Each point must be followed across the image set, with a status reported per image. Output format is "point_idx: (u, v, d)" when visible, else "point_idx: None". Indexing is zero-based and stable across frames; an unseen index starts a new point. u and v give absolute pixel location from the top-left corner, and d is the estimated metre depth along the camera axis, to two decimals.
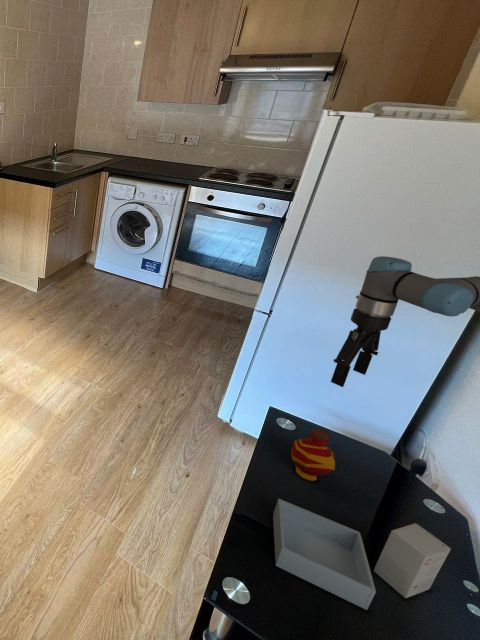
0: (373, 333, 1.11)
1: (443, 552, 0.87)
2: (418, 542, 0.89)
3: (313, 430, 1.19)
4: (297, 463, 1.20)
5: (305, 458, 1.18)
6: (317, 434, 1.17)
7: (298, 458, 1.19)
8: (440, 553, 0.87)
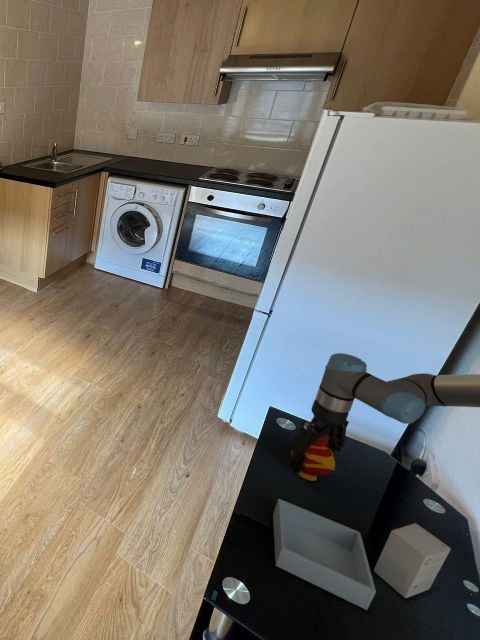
0: (332, 425, 1.15)
1: (443, 552, 0.87)
2: (418, 542, 0.89)
3: None
4: None
5: (305, 458, 1.18)
6: None
7: None
8: (440, 553, 0.87)
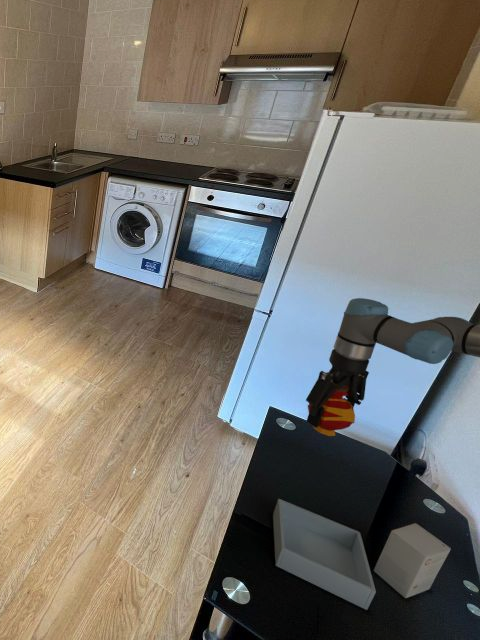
0: (352, 375, 1.09)
1: (443, 552, 0.87)
2: (418, 542, 0.89)
3: (331, 382, 1.13)
4: None
5: (323, 412, 1.12)
6: None
7: None
8: (440, 553, 0.87)
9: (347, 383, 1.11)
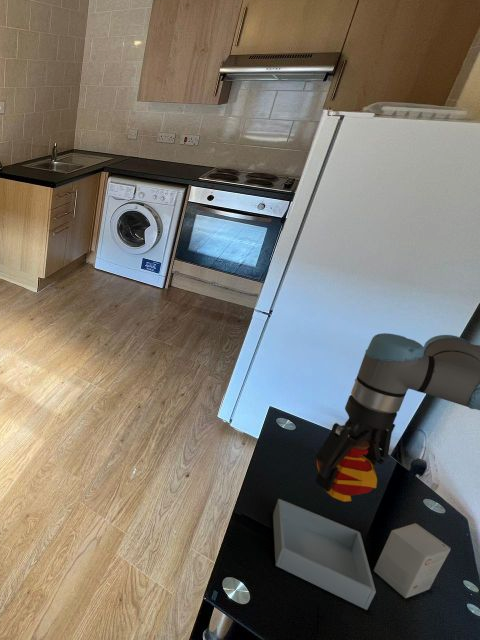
0: (374, 430, 0.87)
1: (443, 552, 0.87)
2: (418, 542, 0.89)
3: None
4: None
5: None
6: None
7: None
8: (440, 553, 0.87)
9: (368, 438, 0.88)
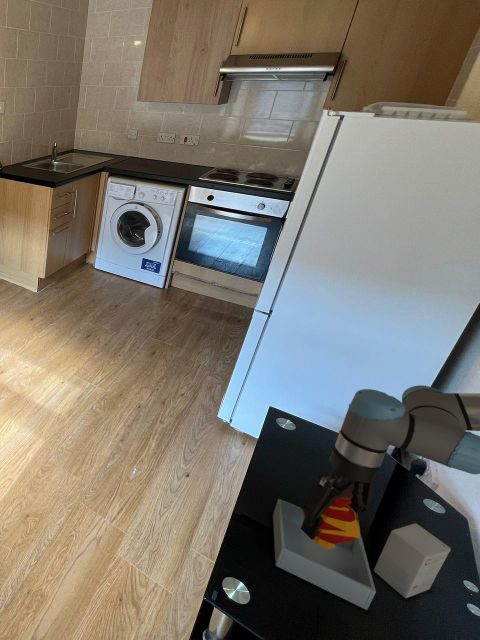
0: (357, 481, 0.89)
1: (443, 552, 0.87)
2: (418, 542, 0.89)
3: None
4: None
5: None
6: (337, 491, 0.91)
7: None
8: (440, 553, 0.87)
9: (351, 489, 0.90)
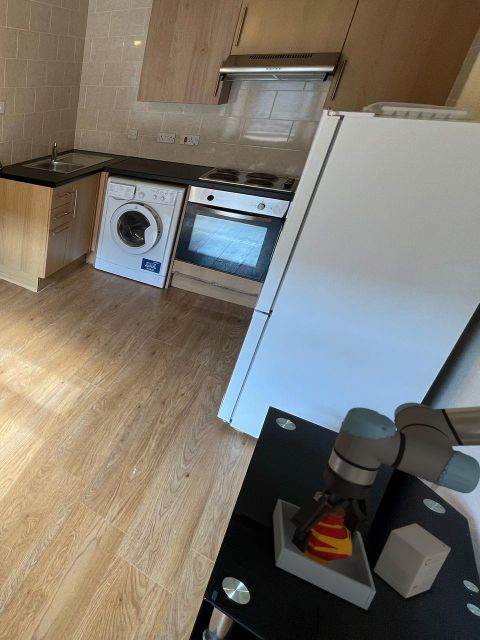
0: (350, 498, 0.91)
1: (443, 552, 0.87)
2: (418, 542, 0.89)
3: None
4: None
5: (314, 539, 0.94)
6: None
7: None
8: (440, 553, 0.87)
9: (344, 505, 0.92)
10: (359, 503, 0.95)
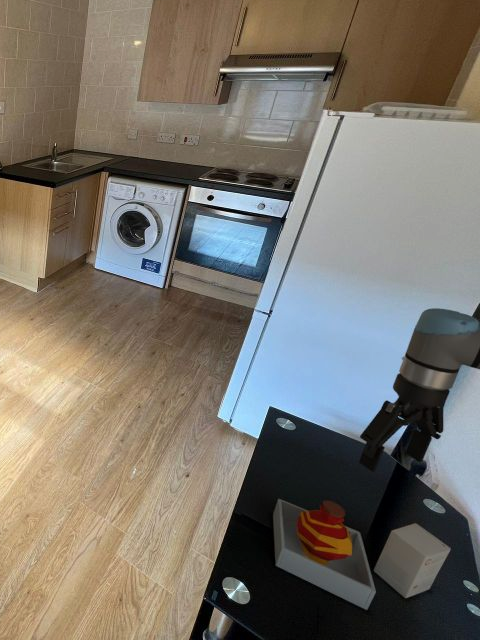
0: (424, 409, 0.85)
1: (443, 552, 0.87)
2: (418, 542, 0.89)
3: (324, 503, 0.94)
4: (304, 543, 0.96)
5: (314, 539, 0.94)
6: (329, 509, 0.93)
7: (305, 537, 0.95)
8: (440, 553, 0.87)
9: (418, 418, 0.86)
10: None
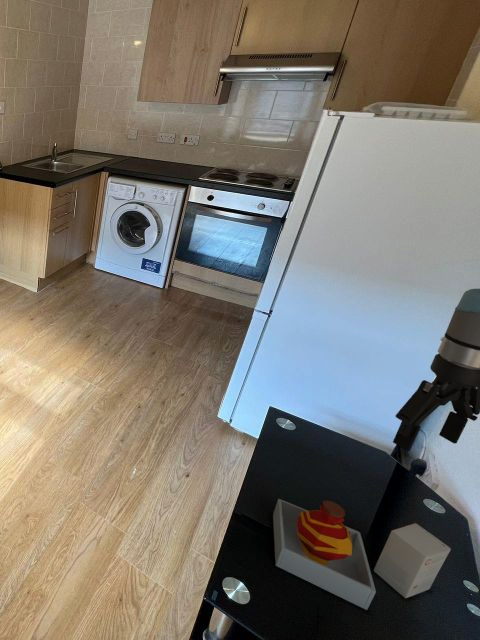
0: (463, 389, 0.85)
1: (443, 552, 0.87)
2: (418, 542, 0.89)
3: (324, 503, 0.94)
4: (304, 543, 0.96)
5: (314, 539, 0.94)
6: (329, 509, 0.93)
7: (305, 537, 0.95)
8: (440, 553, 0.87)
9: (455, 398, 0.86)
10: None
